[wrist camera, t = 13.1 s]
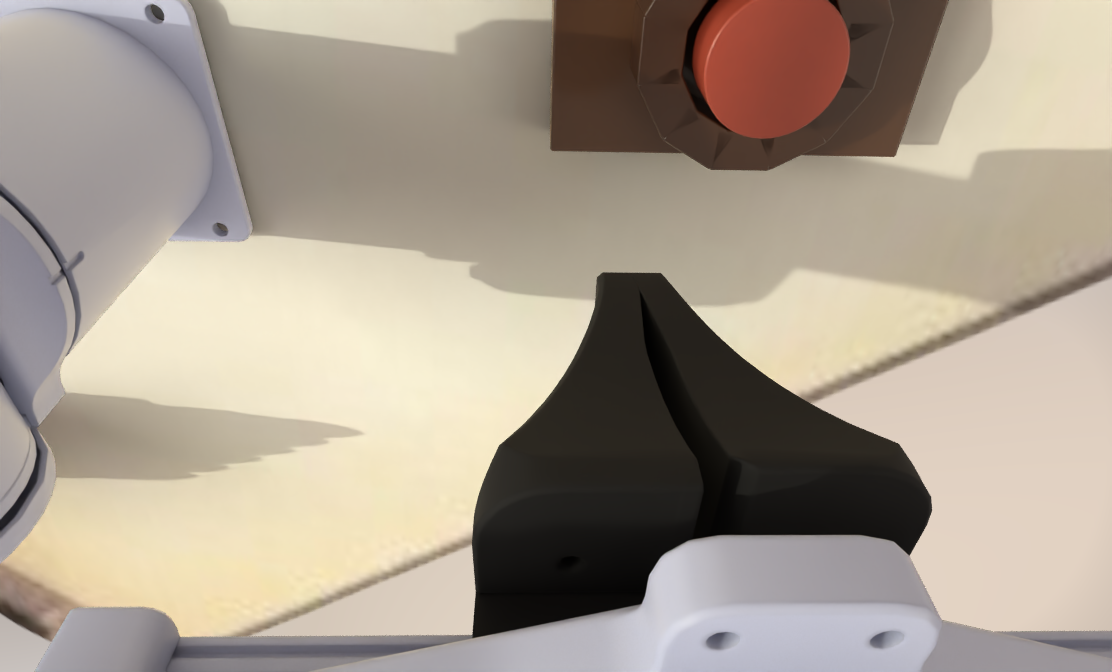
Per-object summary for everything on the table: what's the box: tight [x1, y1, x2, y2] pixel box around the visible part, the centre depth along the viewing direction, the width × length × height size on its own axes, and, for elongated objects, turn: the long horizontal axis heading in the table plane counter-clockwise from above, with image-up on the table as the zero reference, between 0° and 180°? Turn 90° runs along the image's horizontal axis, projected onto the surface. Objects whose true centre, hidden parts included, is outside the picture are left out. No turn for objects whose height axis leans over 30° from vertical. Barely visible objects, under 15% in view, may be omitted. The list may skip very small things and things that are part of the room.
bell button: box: [692, 0, 850, 139], centre depth 18 cm, size 4×4×2 cm
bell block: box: [550, 0, 949, 171], centre depth 19 cm, size 11×7×4 cm, turn 88°
